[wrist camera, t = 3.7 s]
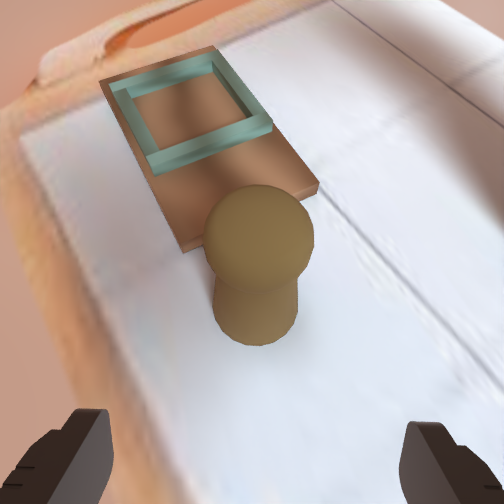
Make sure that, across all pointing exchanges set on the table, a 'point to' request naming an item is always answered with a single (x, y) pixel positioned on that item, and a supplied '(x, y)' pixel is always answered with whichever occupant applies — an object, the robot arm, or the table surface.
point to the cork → (257, 261)
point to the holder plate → (201, 138)
